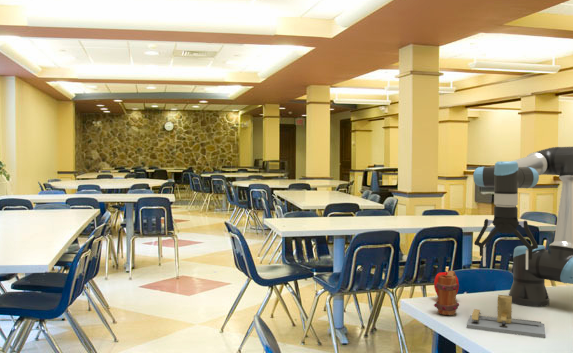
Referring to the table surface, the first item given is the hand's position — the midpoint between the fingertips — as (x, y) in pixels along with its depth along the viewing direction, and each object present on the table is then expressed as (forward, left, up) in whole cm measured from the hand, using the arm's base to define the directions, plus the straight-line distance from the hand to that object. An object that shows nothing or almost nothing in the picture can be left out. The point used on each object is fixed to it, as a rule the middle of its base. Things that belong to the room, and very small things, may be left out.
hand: (505, 267), depth 182 cm
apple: (+7, -35, -20) cm, 41 cm away
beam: (+1, +3, -19) cm, 19 cm away
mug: (+13, -17, -20) cm, 30 cm away
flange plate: (+1, +3, -20) cm, 20 cm away
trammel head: (+1, +2, -19) cm, 19 cm away
